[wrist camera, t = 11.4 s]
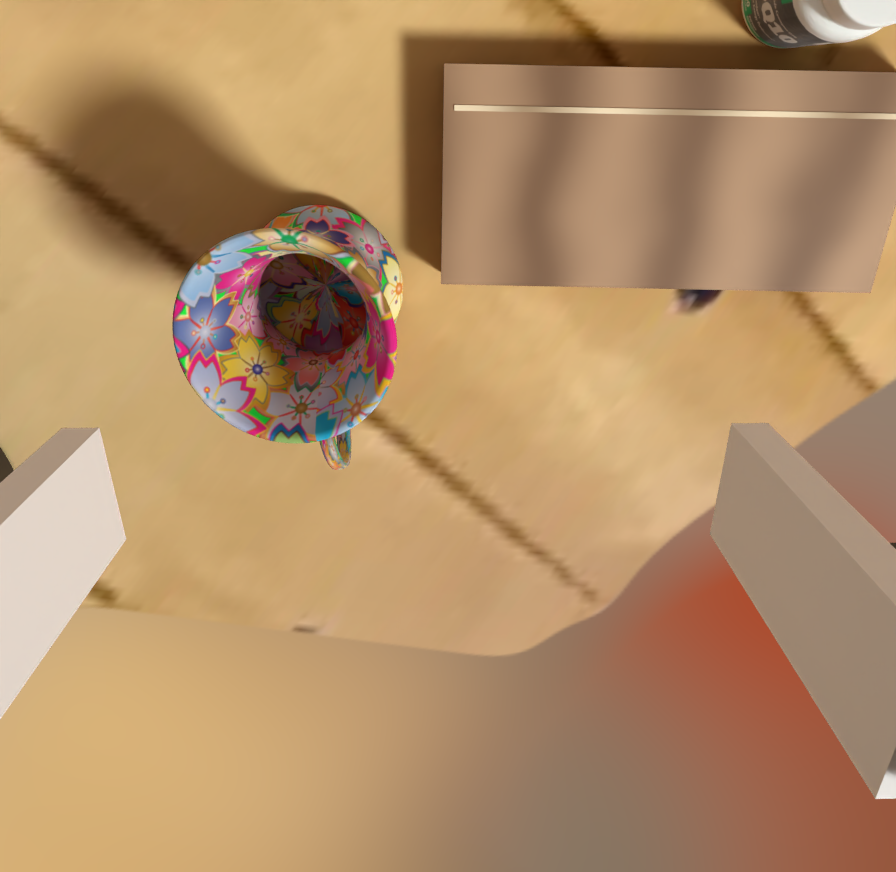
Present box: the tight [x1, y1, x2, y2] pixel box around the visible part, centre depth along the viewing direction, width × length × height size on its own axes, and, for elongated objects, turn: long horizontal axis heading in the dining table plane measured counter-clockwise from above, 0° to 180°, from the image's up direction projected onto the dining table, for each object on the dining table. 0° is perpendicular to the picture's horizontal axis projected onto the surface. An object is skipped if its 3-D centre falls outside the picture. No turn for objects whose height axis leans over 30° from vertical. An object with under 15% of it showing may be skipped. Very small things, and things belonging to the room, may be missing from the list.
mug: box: [173, 205, 403, 470], centre depth 34 cm, size 12×9×11 cm
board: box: [441, 63, 896, 293], centre depth 35 cm, size 22×10×3 cm, turn 89°
